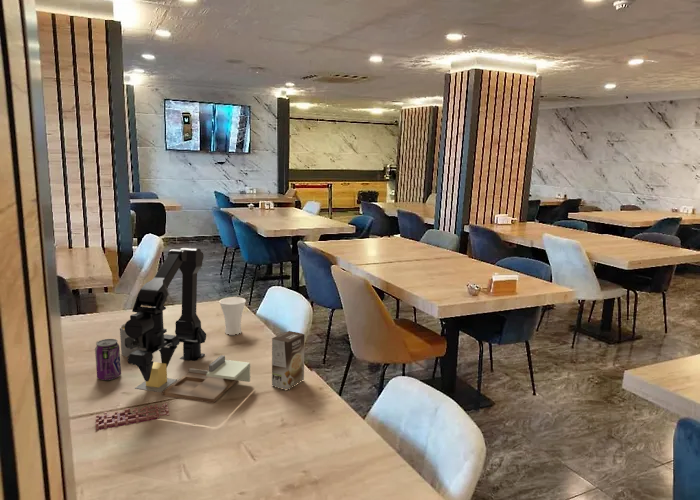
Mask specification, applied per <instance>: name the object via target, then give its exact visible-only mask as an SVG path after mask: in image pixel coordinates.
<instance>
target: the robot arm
mask: <svg viewBox="0 0 700 500" xmlns="http://www.w3.org/2000/svg"><path fill="white" fill-rule="evenodd" d="M203 260H204V253H203V251H202V250H201V249H200V248H196V247H194V248H193V247H181V248H179V249H176V248H172V249H170V250H168V253H167V256H166V258H165V260H164V262H163V263H162V264H161V266H160V268H159V270H158V271H156V272H157V273H156V274H155V276H154V277H153V279H151V280H150V281H147V282H146V283H144V285H143V286H142V287H141V288H140V289H139V291H138V294H137V295H136V299H135V301H134V305H133V308H132V313H133V314H131V315H130V316H129V319H128V320H127V321H126V322H125V323H126V324H125V323H124V324H125V326H124V329H125V332H126V334H127V335H128V336H129V337H127V338H125V346H126V348H130V349H133V348H135V347H139V346H140V348H141V349H144V348H146V350H145V351H142V350H136V351H134V352H133V353H131V354H130V355H129V356H128V357H127V363H128V364H130V365H131V364H132V365H134V366H137V368H138V369H139V371H140V373H141V375H142V378H143V379H144V380H143V381H144V382H145V381H149V379H150V375H151V370H152V366H153V362H154V360H153V359H154V354H156V353H157V352H159V353H160V360H161V362H160V363H165V364H166V367H167V368H168V366H169V364H170V361H171V360H172V357H173V355H174V353H175V352H176V349H178V345H180V343H183V344H182V346H183V347H182V353H183V354H182V356H181V357H179V360H184V361H193V362H196V361H198V360H201V359H202V358H203V357H204V356H206V355H205V353H202V349H201V348H202V345H201V344H204V343H206V339H207V333H206V332H205V331H204V329H202V322H201V319H200V317H199V316H198V314H197V301H198V300H197V298H198V297H197V295H198V293H197V292H198V273H199V272H200V269H201V268H202V266H203ZM179 270H180V272H181V275H182V276H181V278H182V279H181V280H182V281H181V284H182V285H181V315H180V316H179V318H178V320H176V321H175V323H174V324H175V330H174V333H175V335H174V334H167V332H168V331H167V328H164V312H163V311H165V310H166V309H167V307H166V306H165V303H166V302H167V298H168V296H169V291H168V287H169V286H170V284H171V282H172V280H173V279H174V277H175V276H176V274H177V273H178V271H179Z"/></svg>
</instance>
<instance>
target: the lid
mask: <svg viewBox="0 0 700 500" xmlns="http://www.w3.org/2000/svg"><path fill="white" fill-rule="evenodd" d="M208 371H209V372H207V373H206V376H211V377H218V378H223V379H231V380H238V381H237V382H239V381H240V382H246V383H250V382H251V362H246V361H239V360H230V359H226V356H225V355H223V354H221V355H220V356H219V357H217V358H216V359H214V360H212V362H211V363H210V364H208Z"/></svg>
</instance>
